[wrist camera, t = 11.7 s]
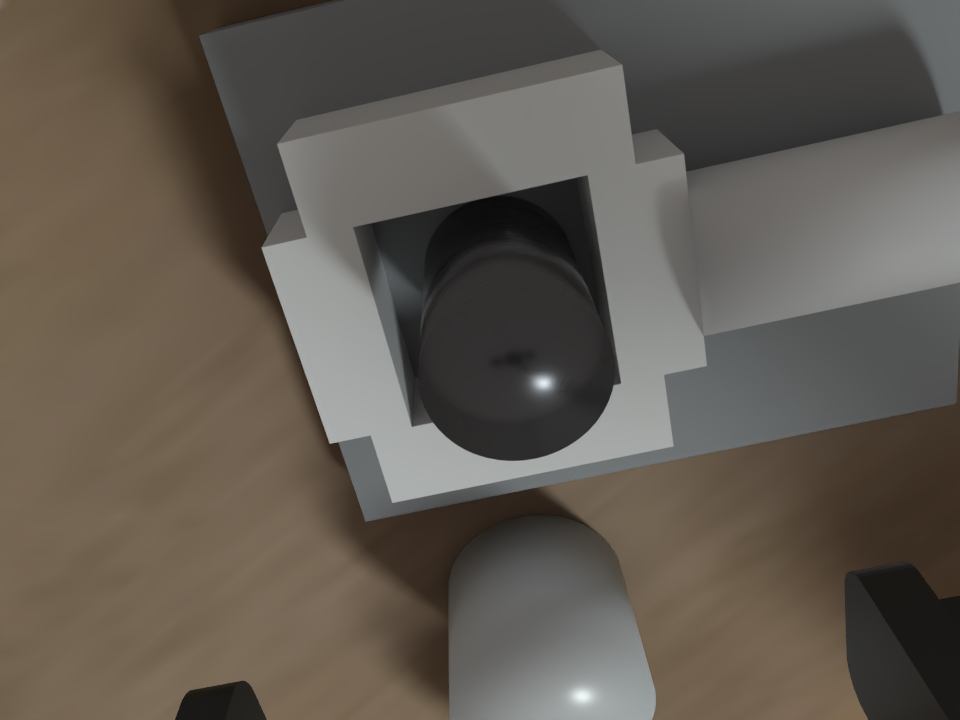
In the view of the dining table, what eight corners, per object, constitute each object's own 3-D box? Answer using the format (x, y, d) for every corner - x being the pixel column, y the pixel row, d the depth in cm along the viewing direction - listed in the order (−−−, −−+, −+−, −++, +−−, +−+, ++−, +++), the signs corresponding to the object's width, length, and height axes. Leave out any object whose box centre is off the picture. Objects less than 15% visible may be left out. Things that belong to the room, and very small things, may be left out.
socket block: (937, -145, 23) (1103, -172, 17) (926, 375, 30) (1040, 480, 24) (217, 28, 24) (145, 57, 18) (370, 487, 31) (353, 613, 25)
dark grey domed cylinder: (558, 180, 24) (598, 265, 18) (583, 318, 26) (628, 439, 20) (407, 214, 24) (395, 310, 18) (444, 349, 26) (444, 477, 20)
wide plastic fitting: (608, 498, 32) (641, 613, 26) (632, 632, 35) (667, 759, 29) (430, 534, 32) (427, 654, 27) (469, 663, 35) (473, 794, 30)
